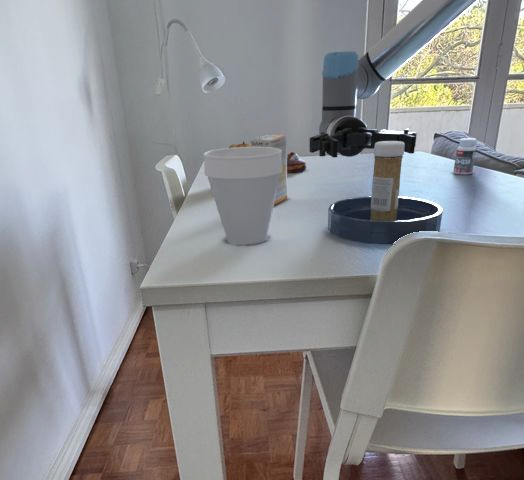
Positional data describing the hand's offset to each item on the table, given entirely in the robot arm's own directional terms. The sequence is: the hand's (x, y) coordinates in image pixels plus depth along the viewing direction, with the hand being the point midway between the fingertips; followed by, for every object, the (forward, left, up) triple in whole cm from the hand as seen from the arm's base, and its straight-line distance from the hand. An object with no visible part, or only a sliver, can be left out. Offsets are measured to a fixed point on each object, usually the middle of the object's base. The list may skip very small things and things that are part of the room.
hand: (374, 147), depth 82 cm
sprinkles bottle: (0, +9, -12) cm, 15 cm away
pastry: (+7, -58, -13) cm, 60 cm away
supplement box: (+17, -18, -13) cm, 28 cm away
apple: (+22, -43, -13) cm, 50 cm away
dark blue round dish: (0, +9, -12) cm, 15 cm away
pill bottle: (-36, -41, -13) cm, 56 cm away
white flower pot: (+23, +9, -13) cm, 28 cm away
